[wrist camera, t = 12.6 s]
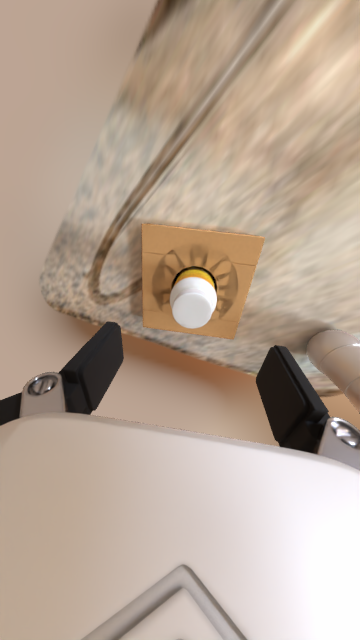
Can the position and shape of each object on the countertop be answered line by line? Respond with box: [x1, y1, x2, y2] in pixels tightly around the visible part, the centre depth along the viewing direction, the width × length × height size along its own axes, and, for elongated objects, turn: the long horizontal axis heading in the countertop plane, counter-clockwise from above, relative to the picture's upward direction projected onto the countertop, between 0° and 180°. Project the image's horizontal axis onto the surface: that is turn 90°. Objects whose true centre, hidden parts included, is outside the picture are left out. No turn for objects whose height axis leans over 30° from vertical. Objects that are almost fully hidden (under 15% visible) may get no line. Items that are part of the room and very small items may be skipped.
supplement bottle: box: [170, 266, 217, 329], centre depth 21 cm, size 5×5×10 cm
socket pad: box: [142, 224, 265, 339], centre depth 24 cm, size 14×14×3 cm
